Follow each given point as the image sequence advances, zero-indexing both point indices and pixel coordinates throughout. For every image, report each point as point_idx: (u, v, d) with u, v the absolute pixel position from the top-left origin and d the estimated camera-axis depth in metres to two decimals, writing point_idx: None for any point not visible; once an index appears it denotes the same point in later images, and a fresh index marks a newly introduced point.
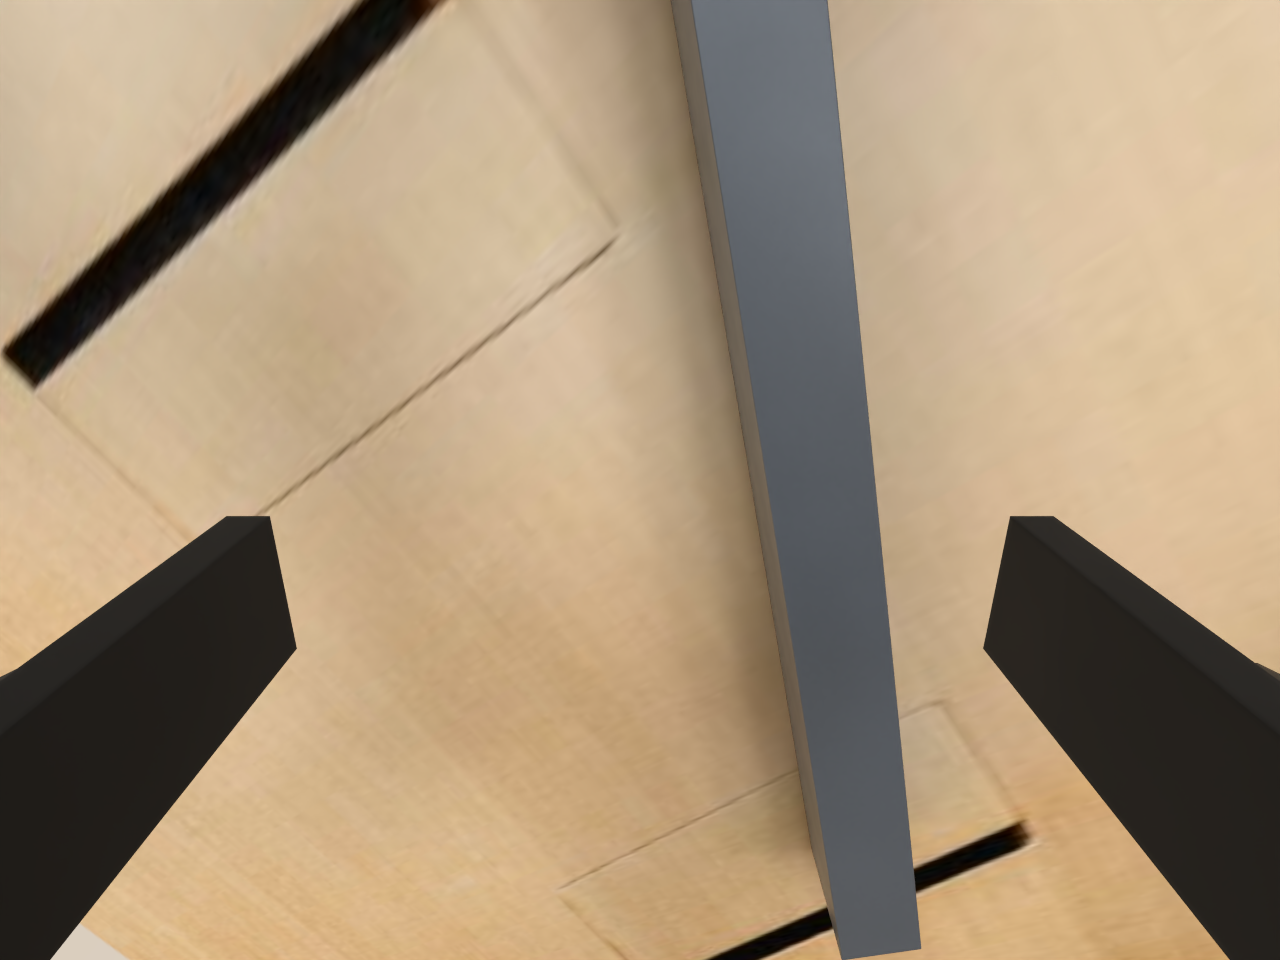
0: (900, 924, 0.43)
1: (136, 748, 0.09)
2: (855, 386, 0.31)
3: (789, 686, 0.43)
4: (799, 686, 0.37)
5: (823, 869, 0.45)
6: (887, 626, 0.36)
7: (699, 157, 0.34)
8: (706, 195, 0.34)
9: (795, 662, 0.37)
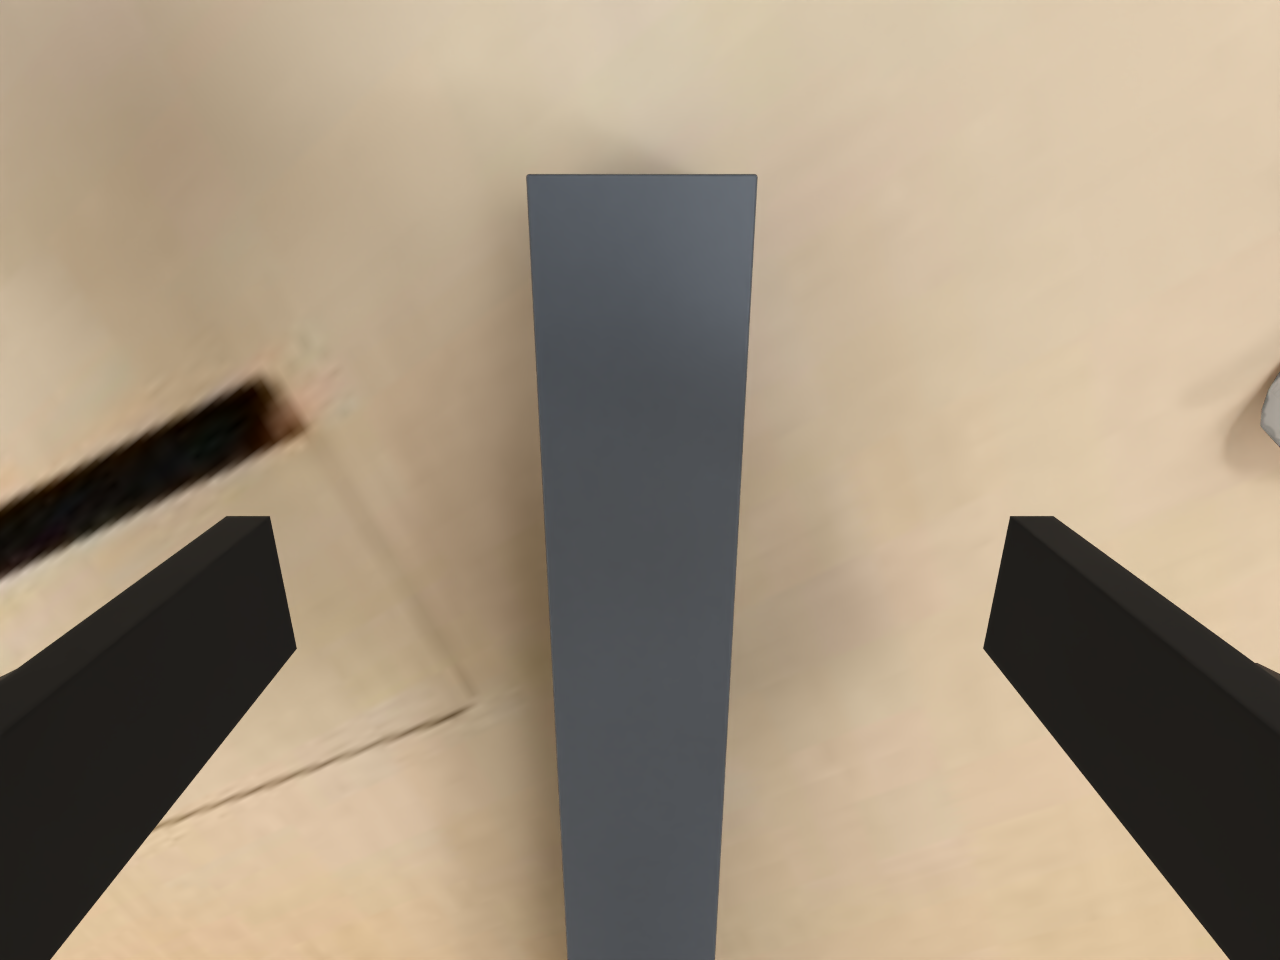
0: None
1: (135, 747, 0.09)
2: None
3: None
4: None
5: None
6: None
7: None
8: None
9: None
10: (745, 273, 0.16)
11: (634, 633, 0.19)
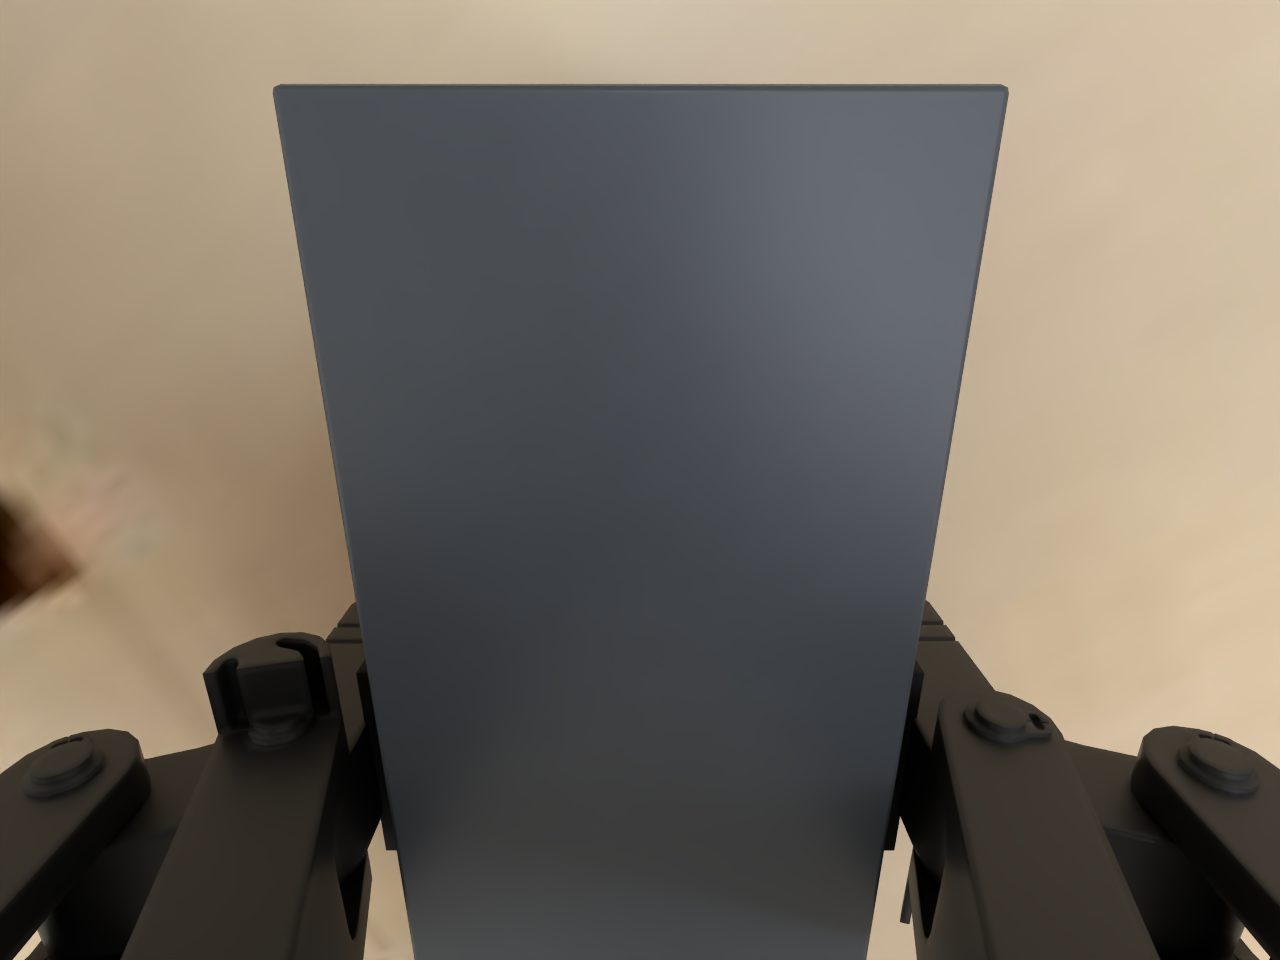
0: None
1: None
2: None
3: None
4: None
5: None
6: None
7: None
8: None
9: None
10: (942, 385, 0.05)
11: None
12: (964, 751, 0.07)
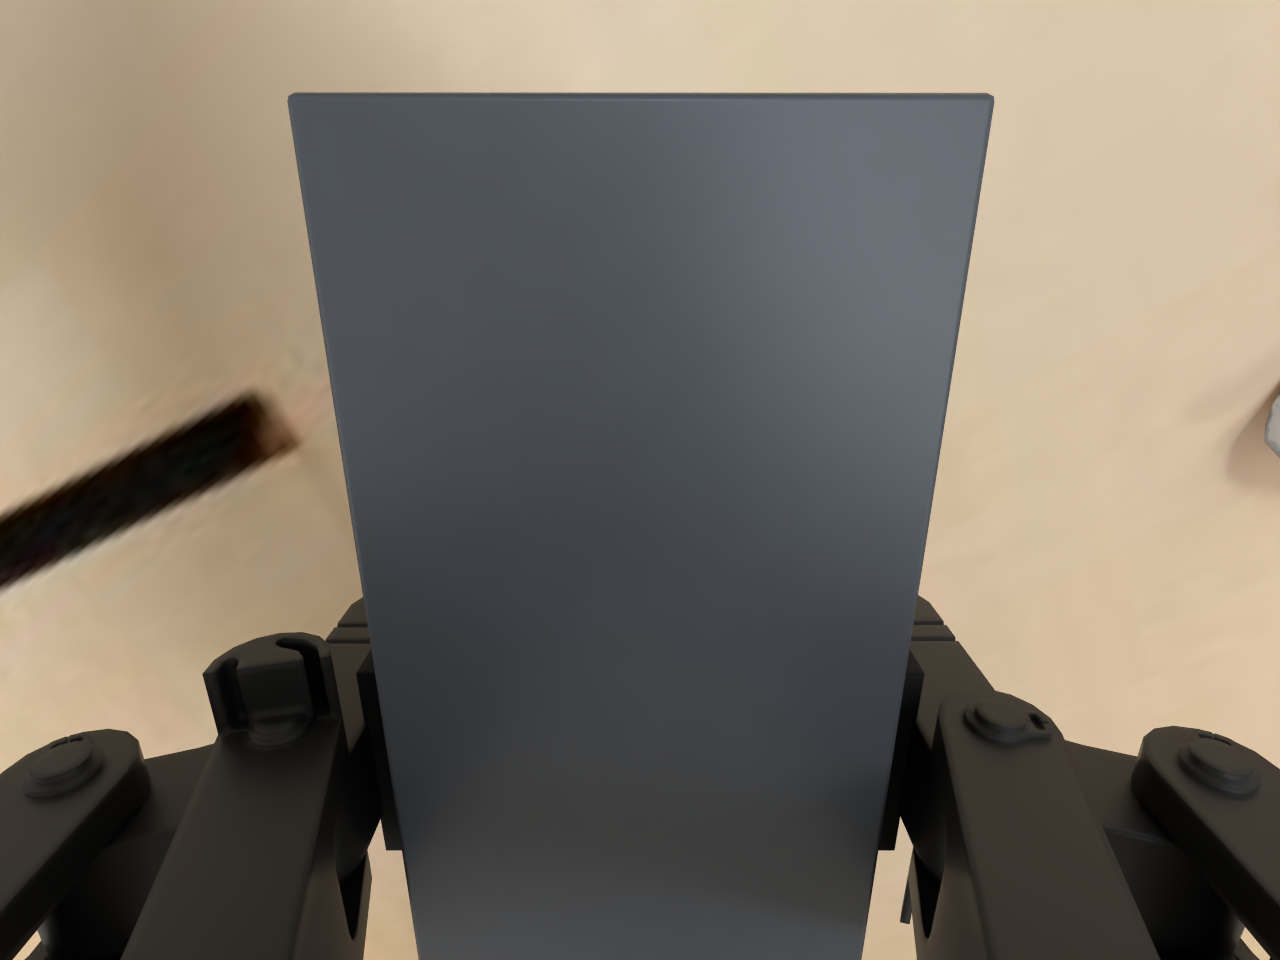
0: None
1: None
2: None
3: None
4: None
5: None
6: None
7: None
8: None
9: None
10: (933, 383, 0.06)
11: None
12: (964, 751, 0.07)
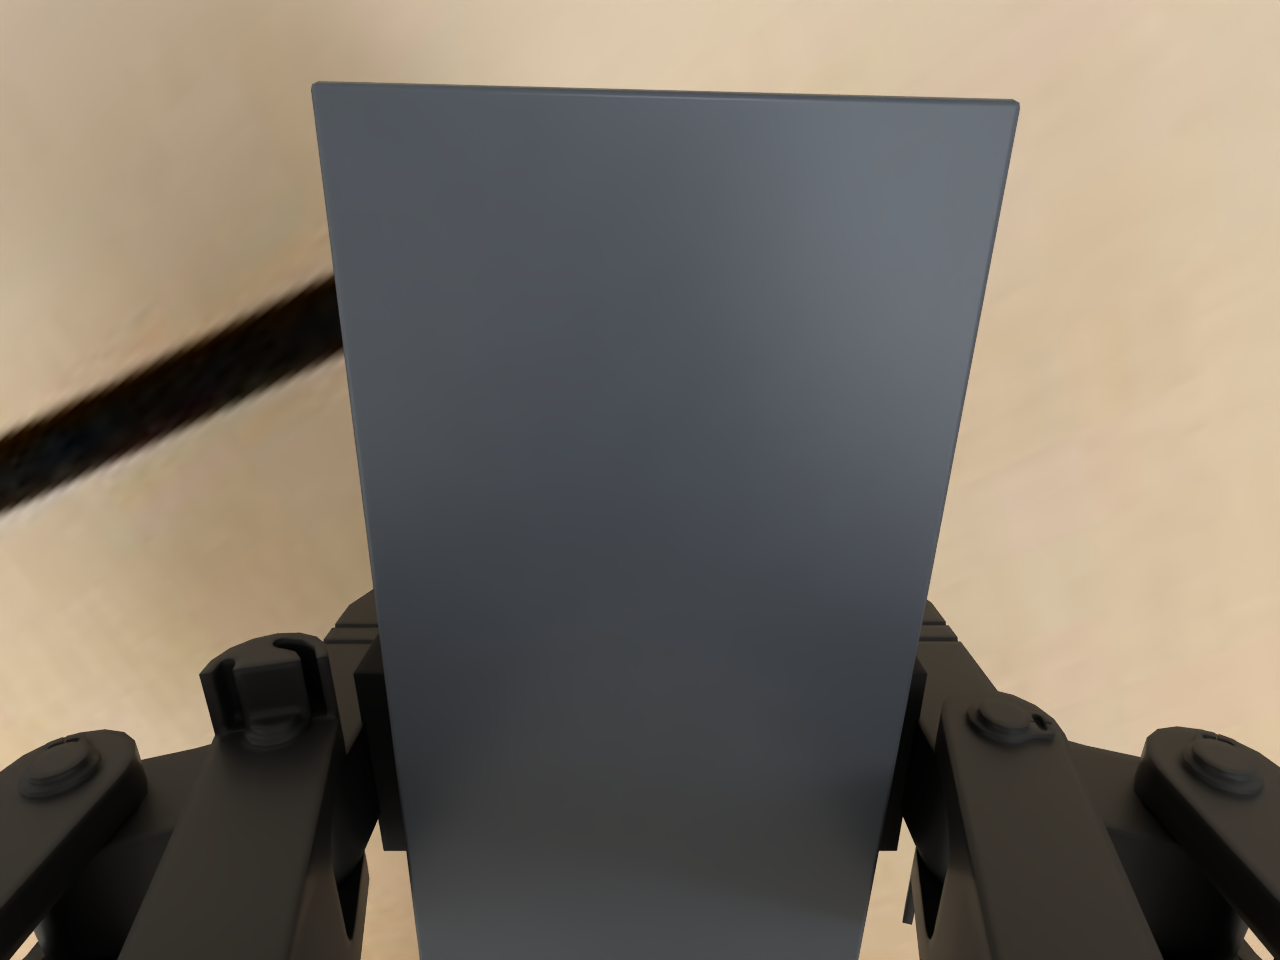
0: None
1: None
2: None
3: None
4: None
5: None
6: None
7: None
8: None
9: None
10: (949, 388, 0.06)
11: None
12: (969, 752, 0.07)
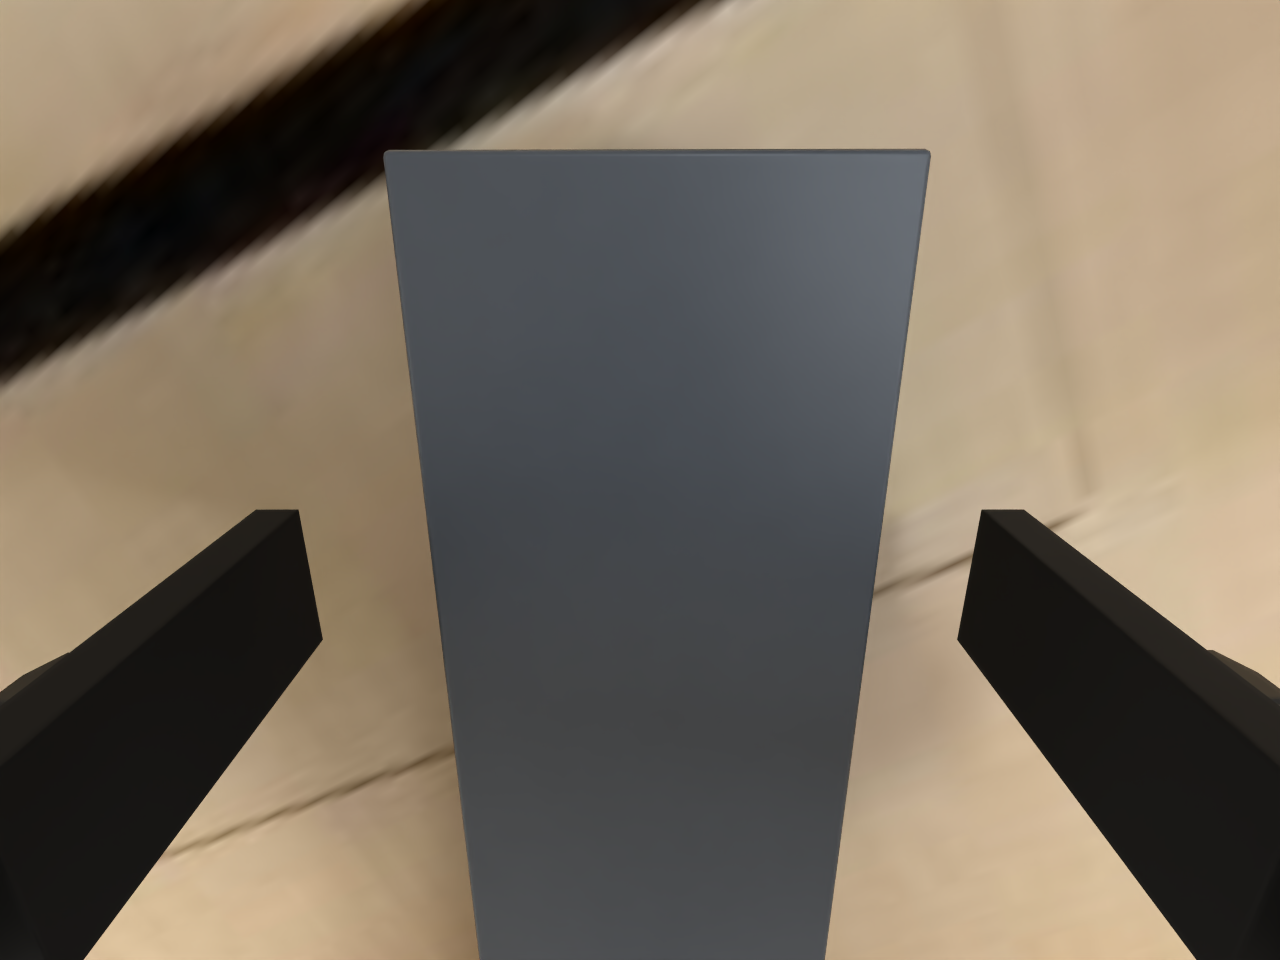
0: None
1: (178, 731, 0.09)
2: None
3: None
4: None
5: None
6: None
7: None
8: None
9: None
10: (888, 373, 0.07)
11: None
12: None
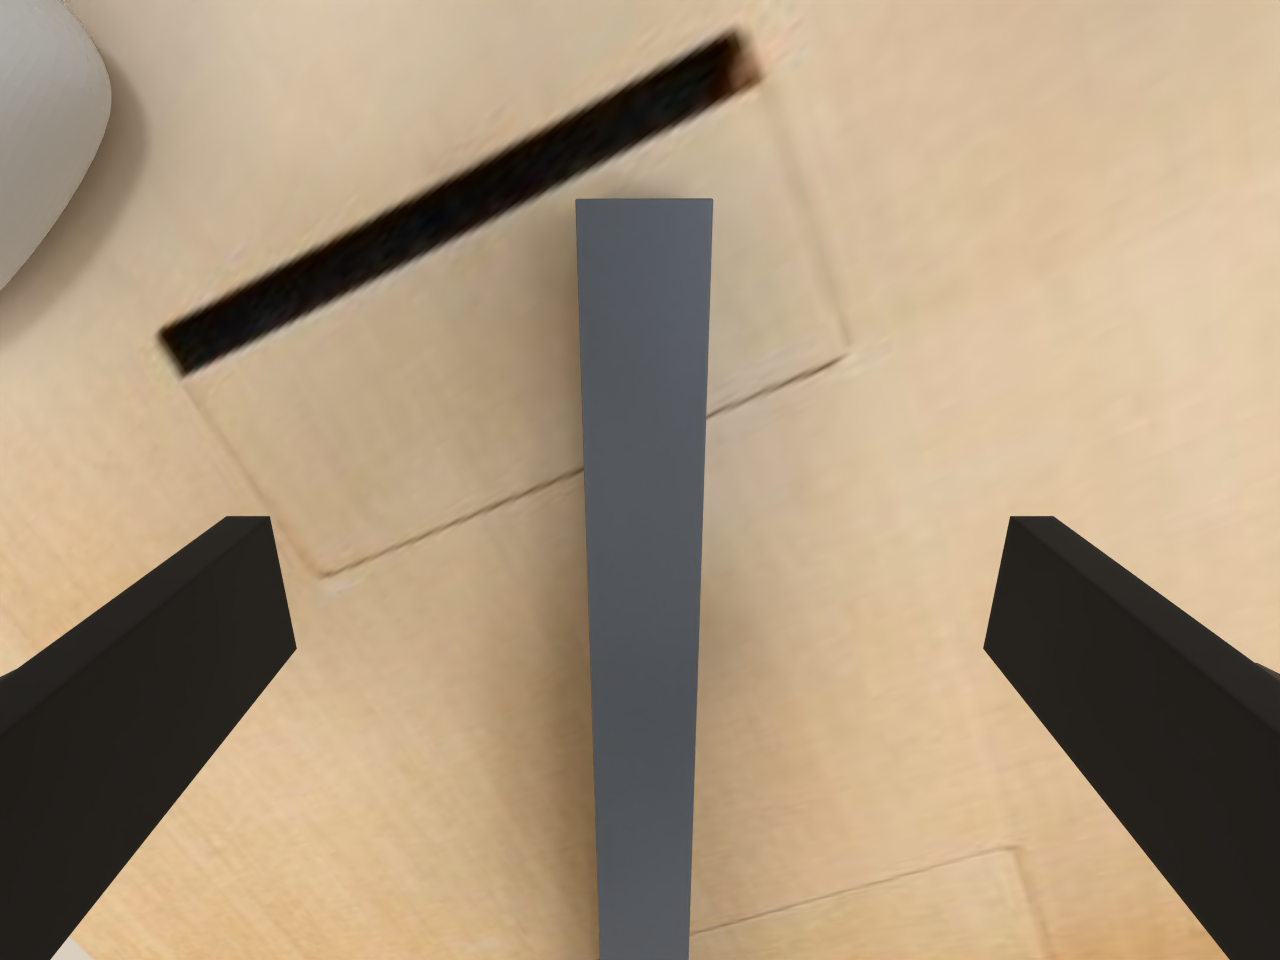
0: None
1: (136, 748, 0.09)
2: (684, 809, 0.36)
3: None
4: None
5: None
6: None
7: None
8: None
9: None
10: (707, 258, 0.26)
11: (639, 493, 0.29)
12: None
